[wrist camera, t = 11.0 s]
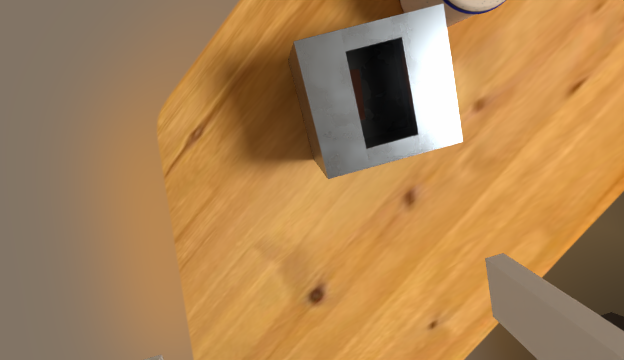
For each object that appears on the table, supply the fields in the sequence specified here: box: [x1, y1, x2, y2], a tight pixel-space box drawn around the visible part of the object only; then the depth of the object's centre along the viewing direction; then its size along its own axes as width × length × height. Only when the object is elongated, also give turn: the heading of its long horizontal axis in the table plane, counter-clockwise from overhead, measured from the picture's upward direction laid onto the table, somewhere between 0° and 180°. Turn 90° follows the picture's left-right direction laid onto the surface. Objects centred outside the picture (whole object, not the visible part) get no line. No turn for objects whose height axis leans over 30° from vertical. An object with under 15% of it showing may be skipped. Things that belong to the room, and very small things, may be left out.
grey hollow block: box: [288, 4, 463, 179], centre depth 34 cm, size 13×12×11 cm
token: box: [349, 69, 365, 121], centre depth 35 cm, size 2×6×6 cm
